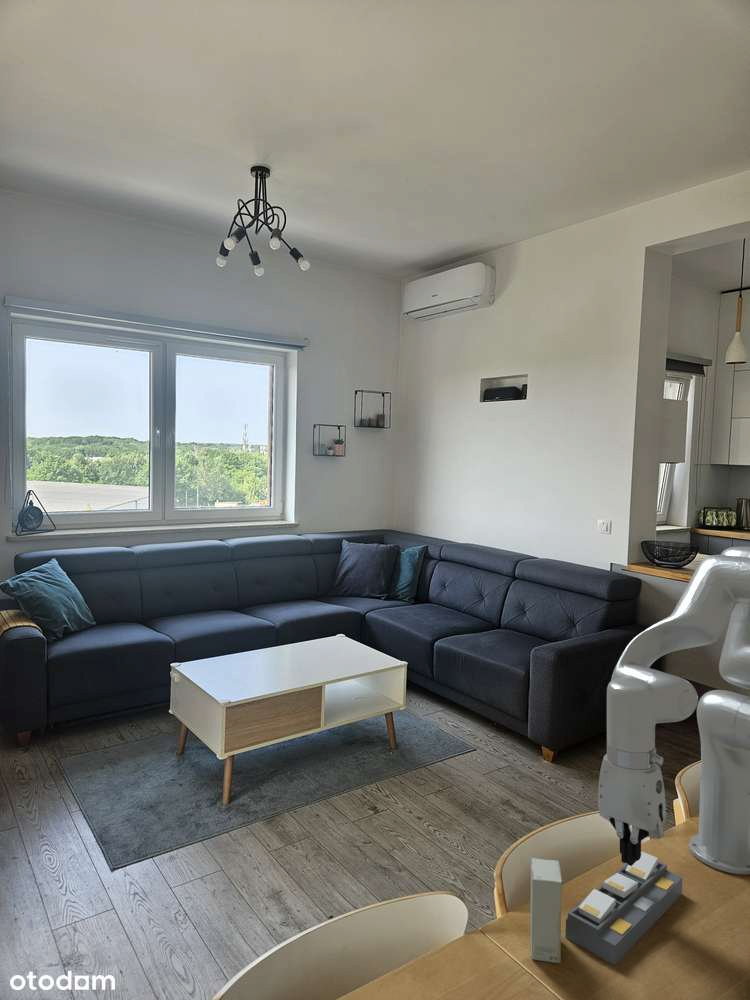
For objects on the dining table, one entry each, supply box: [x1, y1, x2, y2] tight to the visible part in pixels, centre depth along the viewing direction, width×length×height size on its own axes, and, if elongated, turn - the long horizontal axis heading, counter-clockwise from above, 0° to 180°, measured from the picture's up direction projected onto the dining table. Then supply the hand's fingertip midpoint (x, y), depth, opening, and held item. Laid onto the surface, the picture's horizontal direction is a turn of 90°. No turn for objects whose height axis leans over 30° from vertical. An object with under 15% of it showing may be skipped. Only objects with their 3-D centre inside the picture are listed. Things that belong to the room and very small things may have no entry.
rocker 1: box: [579, 888, 616, 924], centre depth 102 cm, size 5×4×1 cm
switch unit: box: [565, 860, 683, 966], centre depth 107 cm, size 25×8×4 cm, turn 133°
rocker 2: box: [602, 872, 638, 898], centre depth 108 cm, size 5×4×1 cm
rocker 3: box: [625, 850, 659, 883], centre depth 113 cm, size 5×4×1 cm
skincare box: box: [529, 857, 563, 964], centre depth 99 cm, size 6×4×12 cm
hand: (630, 860), depth 110 cm, fingers closed
